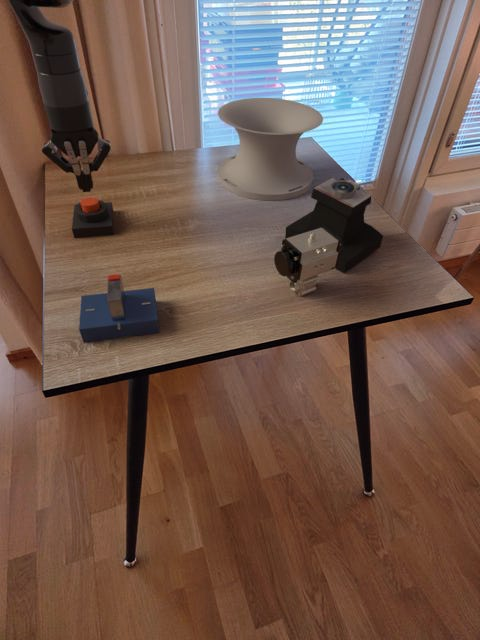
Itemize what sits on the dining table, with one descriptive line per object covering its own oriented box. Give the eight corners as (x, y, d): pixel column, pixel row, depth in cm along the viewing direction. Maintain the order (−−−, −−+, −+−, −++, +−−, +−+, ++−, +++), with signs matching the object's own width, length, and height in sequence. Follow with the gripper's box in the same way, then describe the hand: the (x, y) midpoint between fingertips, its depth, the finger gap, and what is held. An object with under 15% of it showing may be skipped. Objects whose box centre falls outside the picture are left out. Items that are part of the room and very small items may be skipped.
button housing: (74, 238, 86) (69, 221, 84) (76, 213, 93) (72, 197, 91) (113, 234, 88) (110, 217, 85) (113, 210, 95) (110, 194, 92)
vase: (325, 171, 114) (337, 110, 103) (289, 210, 98) (299, 143, 87) (245, 150, 122) (247, 91, 111) (199, 183, 106) (197, 119, 95)
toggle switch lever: (125, 319, 66) (120, 297, 63) (112, 320, 65) (107, 299, 62) (124, 294, 70) (120, 273, 67) (112, 295, 70) (107, 274, 66)
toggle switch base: (83, 347, 65) (78, 333, 63) (85, 304, 72) (81, 290, 70) (160, 337, 67) (158, 323, 65) (155, 296, 74) (153, 282, 72)
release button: (82, 213, 87) (80, 206, 85) (82, 205, 89) (80, 197, 88) (99, 212, 87) (98, 204, 86) (100, 204, 90) (98, 196, 88)
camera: (288, 181, 80) (338, 154, 86) (285, 242, 90) (329, 214, 97) (356, 214, 71) (405, 182, 78) (343, 277, 82) (387, 244, 89)
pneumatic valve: (269, 291, 77) (276, 235, 68) (319, 273, 81) (331, 218, 73) (286, 309, 73) (295, 253, 65) (337, 289, 78) (352, 234, 69)
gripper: (22, 106, 69) (51, 201, 81) (104, 104, 72) (120, 196, 84) (28, 92, 74) (54, 183, 87) (104, 90, 77) (120, 179, 89)
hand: (87, 190), depth 85 cm, fingers closed
